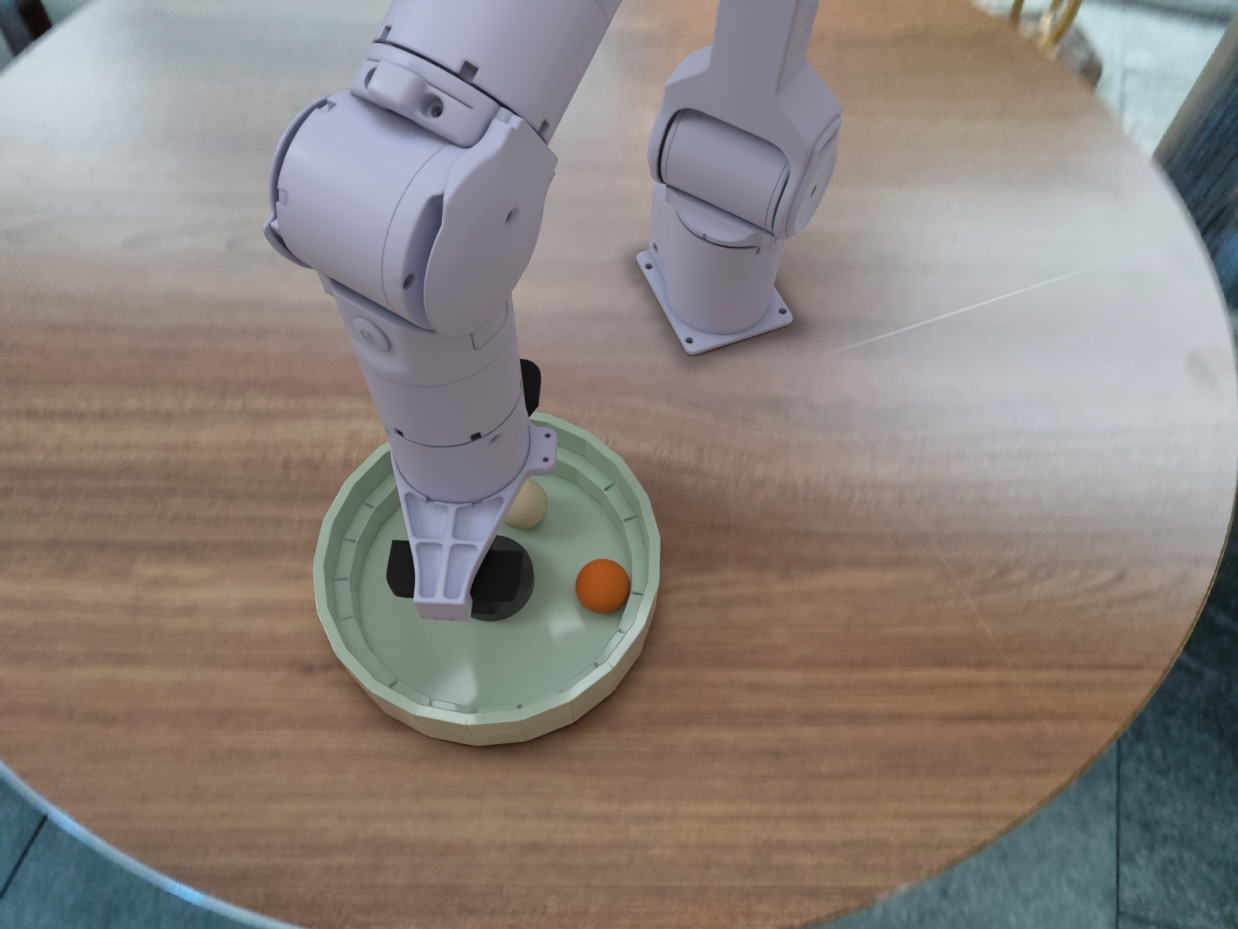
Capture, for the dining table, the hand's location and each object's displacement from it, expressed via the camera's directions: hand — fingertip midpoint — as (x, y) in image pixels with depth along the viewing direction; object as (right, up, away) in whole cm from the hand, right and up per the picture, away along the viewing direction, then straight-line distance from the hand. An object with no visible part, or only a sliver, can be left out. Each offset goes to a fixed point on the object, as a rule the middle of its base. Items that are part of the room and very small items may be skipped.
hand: (485, 536), depth 47 cm
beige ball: (+1, +1, +6) cm, 6 cm away
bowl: (0, -3, +6) cm, 7 cm away
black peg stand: (0, -3, +5) cm, 6 cm away
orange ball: (+6, -3, +4) cm, 8 cm away
